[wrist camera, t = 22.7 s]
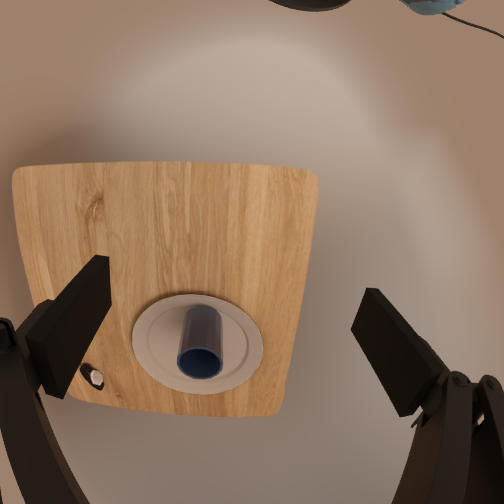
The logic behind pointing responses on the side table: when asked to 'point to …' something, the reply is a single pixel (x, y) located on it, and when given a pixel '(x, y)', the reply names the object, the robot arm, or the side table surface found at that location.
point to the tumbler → (201, 343)
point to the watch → (92, 376)
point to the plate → (168, 338)
